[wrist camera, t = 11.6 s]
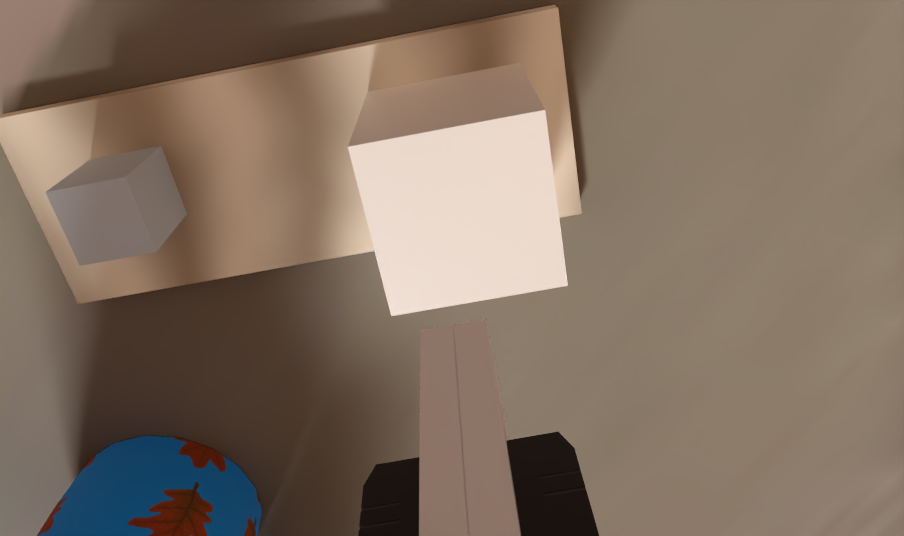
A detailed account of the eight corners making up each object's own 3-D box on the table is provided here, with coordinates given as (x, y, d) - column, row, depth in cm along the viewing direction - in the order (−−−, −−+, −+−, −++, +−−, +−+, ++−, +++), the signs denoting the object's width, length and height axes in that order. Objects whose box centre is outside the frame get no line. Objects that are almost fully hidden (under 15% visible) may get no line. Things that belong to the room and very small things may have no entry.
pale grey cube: (118, 226, 33) (79, 266, 29) (89, 159, 31) (45, 192, 28) (187, 213, 32) (156, 252, 29) (161, 145, 31) (125, 176, 27)
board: (87, 293, 35) (78, 304, 34) (2, 113, 31) (-11, 120, 30) (577, 205, 34) (581, 213, 33) (554, 4, 30) (558, 7, 29)
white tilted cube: (400, 230, 33) (391, 316, 26) (367, 92, 30) (347, 146, 23) (539, 205, 33) (567, 285, 26) (519, 62, 30) (545, 109, 23)
